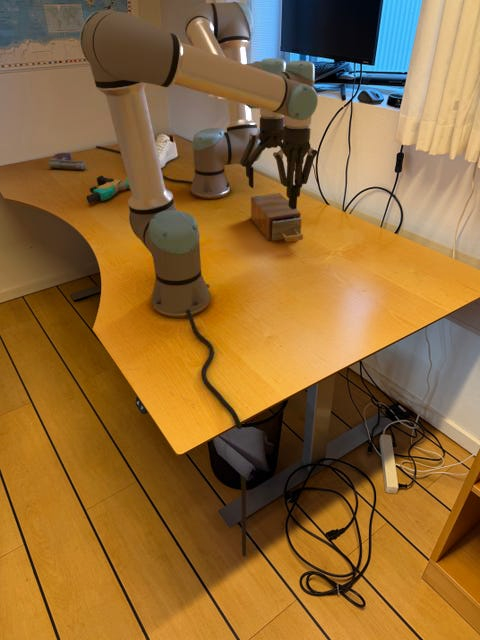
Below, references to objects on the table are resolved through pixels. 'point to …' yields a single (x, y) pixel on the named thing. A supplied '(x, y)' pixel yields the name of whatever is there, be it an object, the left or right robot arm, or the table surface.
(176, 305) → the left robot arm
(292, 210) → the cabinet
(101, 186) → the toy gun
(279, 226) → the drawer
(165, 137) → the sneaker
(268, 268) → the table surface
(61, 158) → the toy gun
